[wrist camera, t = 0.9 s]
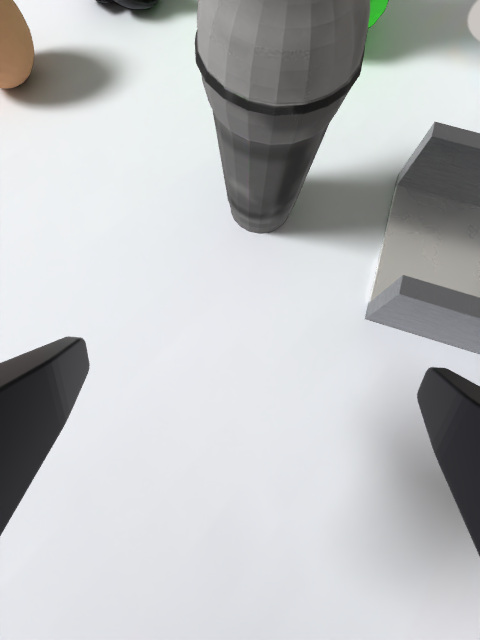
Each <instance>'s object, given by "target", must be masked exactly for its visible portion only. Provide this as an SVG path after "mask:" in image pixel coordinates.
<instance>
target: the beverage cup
mask: <svg viewBox="0 0 480 640" xmlns="http://www.w3.org/2000/svg"><path fill="white" fill-rule="evenodd" d="M369 17H370V0H199V1H198V12H197V32H196V37H195V54H196V64H197V66H198V68H199V70H200V72H201V74H202V81H203V84H204V87H205V91H206V94H207V97H208V101H209V103H210V105H211V107H212V109H213V115H214V120H215V126H216V132H217V138H218V144H219V150H220V155H221V161H222V167H223V173H224V179H225V184H226V190H227V196H228V201H229V203H230V207H231V213H232V215H233V217H234V220H235V221H236V222H237V223H238V224H239V225H240V226H241V227H242V228H244V229H246V230H248V231H251V232H255V233H268V232H271V231H273V230H276V229H277V228H279V227H280V226H281V225H283V224H284V222H285V221H286V219H287V218H288V215H289V212H290V211H291V209H292V208H293V206H294V204H295V202H296V199H297V197H298V195H299V192H300V190H301V188H302V185H303V183H304V181H305V178H306V176H307V174H308V172H309V169H310V167H311V165H312V162H313V160H314V158H315V155H316V153H317V151H318V148H319V146H320V144H321V141H322V139H323V137H324V134H325V132H326V130H327V127H328V125H329V123H330V121H331V120H332V118H333V117H334V115H335V114H336V112H337V111H338V109H339V107H340V106H341V104H342V102H343V100H344V99H345V97H346V95H347V93H348V92H349V90H350V89H351V87H352V86H353V84H354V83H355V81H356V80H357V78H358V77H359V75H360V72H361V67H362V61H363V56H364V49H365V41H366V36H367V30H368V24H369Z"/></svg>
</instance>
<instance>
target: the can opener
mask: <svg viewBox="0 0 480 640" xmlns="http://www.w3.org/2000/svg"><path fill="white" fill-rule="evenodd" d="M96 1H98V2H101V3H108V2H117V3H118V4H120V5H122V6H124V7H127V8H131V9H146V8H149V7H152V6H154V5H155V4H156V3H157V2H158V0H96Z"/></svg>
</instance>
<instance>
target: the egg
mask: <svg viewBox="0 0 480 640" xmlns="http://www.w3.org/2000/svg"><path fill="white" fill-rule="evenodd" d="M33 62H34V46H33V41H32V37H31V33H30V30H29V28H28V25H27V23H26V21H25V19H24V17H23V15H22V13H21V12H20V10H19V8H18V7H17V5H16V4H15V2H14V1H13V0H0V88H13V87H16V86H19V85H20V84H22V83H23V82H24V81H25V80H26V79H27V78H28V76H29V75H30V73H31V70H32V66H33Z"/></svg>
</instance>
